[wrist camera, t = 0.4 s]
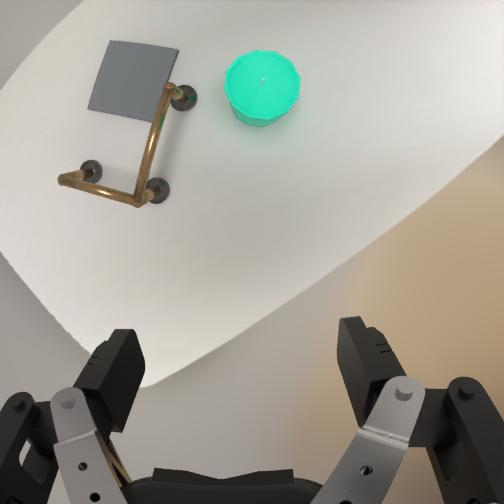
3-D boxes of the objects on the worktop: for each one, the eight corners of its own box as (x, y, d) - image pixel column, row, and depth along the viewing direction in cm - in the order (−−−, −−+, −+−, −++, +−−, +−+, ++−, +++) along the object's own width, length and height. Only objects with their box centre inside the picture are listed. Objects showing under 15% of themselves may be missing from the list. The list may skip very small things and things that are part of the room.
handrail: (108, 71, 29) (78, 59, 22) (200, 89, 31) (188, 75, 24) (79, 181, 34) (46, 191, 27) (166, 205, 35) (146, 221, 28)
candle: (222, 116, 32) (210, 102, 21) (242, 68, 30) (239, 33, 19) (274, 134, 33) (287, 130, 21) (293, 87, 31) (315, 60, 20)
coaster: (112, 41, 28) (110, 40, 28) (179, 50, 29) (177, 49, 29) (89, 109, 31) (87, 109, 30) (154, 122, 32) (153, 122, 31)
